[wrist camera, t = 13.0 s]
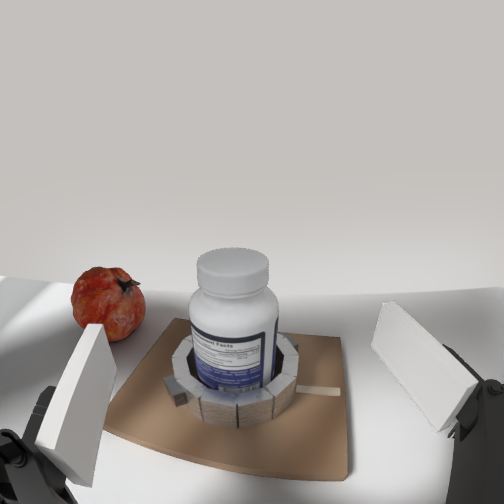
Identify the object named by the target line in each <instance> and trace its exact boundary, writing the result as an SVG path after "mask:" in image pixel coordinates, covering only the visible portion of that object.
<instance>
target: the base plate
mask: <svg viewBox="0 0 504 504" xmlns="http://www.w3.org/2000/svg"><path fill="white" fill-rule="evenodd" d="M277 333H279V334H281V333H280V332H277ZM285 334H286V335H288V336H289V337H290V338H292V339H293V340H294V341H296V342H297V343H298V344H299V346H298V355H299V360H298V370H297V378H296V384H295V390H294V396H293V400H292V402H291V403H290V404H289V405H288V406H287V407H286V408H285V409H284V410H283V411H282V412H281V413H280V414H279V415H278V416H277V417H276V418H275V419H274V420H272V419H271V421H270V422H266V423H263V424H259V425H255V426H251V427H247V428H243V429H239V427H237V429H232V428H227V427H222V426H217V425H212V424H208V423H205V422H204V421H203V422H202V421H201V420H200V419H198V418H197V417H196V416H195V415H194V414H193V413H191V412H190V411H189V410H188V409H187V408H186V407H184V406H183V405H182V406H179V407H176V406H175V404H174V403H173V401H172V399H171V397H170V396H169V394H168V392H167V390H166V387H165V383H164V380H163V378H164V377H167V376H170V375H174V369H173V363H172V356H173V354H174V353H175V351H176V350H177V348H178V346H179V345H180V343H181V342H182V340H183V339H185V338H186V337H188V336H190V335H191V327H190V320H184V319H178V318H174V319H173V321H172V322H171V323H170V325H169V326H168V327H167V328H166V330H165V331H164V332H163V334H162V335H161V336H160V337H159V339H158V340H157V341H156V343H155V344H154V345H153V347H152V348H151V349H150V350H149V352H148V353H147V354H146V356H145V357H144V358H143V360H142V361H141V362H140V364H139V365H138V366H137V367H136V369H135V370H134V371H133V373H132V374H131V375H130V377H129V378H128V379H127V381H126V382H125V383H124V385H123V386H122V387H121V389H120V390H119V391H118V393H117V394H116V395H115V397H114V398H113V399H112V401H111V402H110V403H109V405H108V408H107V412H106V417H105V421H104V425H103V430H105V431H108V432H110V433H112V434H114V435H116V436H119V437H121V438H123V439H126V440H128V441H131V442H133V443H136V444H138V445H141V446H144V447H146V448H149V449H152V450H155V451H158V452H161V453H164V454H167V455H170V456H173V457H176V458H180V459H183V460H186V461H190V462H194V463H198V464H201V465H205V466H210V467H214V468H218V469H223V470H228V471H233V472H238V473H244V474H250V475H257V476H264V477H272V478H281V479H292V480H308V481H344V479H345V478H346V476H347V475H348V449H347V418H346V399H345V385H344V372H343V361H342V350H341V341H340V337H329V336H315V335H302V334H291V333H285ZM277 376H278V373H277V372H276V370H275V368H274V379H275V378H276V377H277ZM193 377H194V378H195V379H196V380H198V376H197V370H196V372H195V374H194V376H193ZM274 379H273V380H274Z"/></svg>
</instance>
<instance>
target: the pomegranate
mask: <svg viewBox="0 0 504 504" xmlns="http://www.w3.org/2000/svg"><path fill="white" fill-rule="evenodd" d="M139 284H140V283H139V282H136V281H134V280H132V278H131V277H130V275H129V274H128V273H126V272H125V271H124V270H123V269H121V268H103V267H94V268H91V269H90V270H88V271H85V272H84V273H83V274H82V275H81V276H80V277H79V278H78V280H77V281H76V283H75V284H74V288H73V293H72V296H71V303H72V306H73V316H74V318H75V320H76V321H77V323H78V324H79V325H80V326H81V327H82V328H84V329H85V328H86V327H87V325H88V324H103V326H104V330H105V333H106V336H107V340H108V342H114V341H120V340H122V339H124V338H126V337H127V336H128V335H129V334H130V333H131V331H132V330H133V329H135V328H136V327H138V326H139V325H140V324H141V322H142V320H143V318H144V314H145V310H146V307H145V300H144V296H143V294H142V292H141V290H140V289H139V287H137V286H136V285H139Z"/></svg>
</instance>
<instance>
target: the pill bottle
mask: <svg viewBox="0 0 504 504" xmlns="http://www.w3.org/2000/svg"><path fill="white" fill-rule="evenodd" d="M268 269H269V262H268V258H267V257H266V256H265V255H264V254H262V253H260V252H258V251H255V250H251V249H245V248H222V249H216V250H212V251H209V252H207V253H205V254H203V255H201V256H200V257H199V258H198V261H197V279H198V285H199V287H200V288H199V289H198V290H197V291H195V293H194V294H193V295H192V297H191V299H190V302H189V319H190V327H191V335H192V342H193V349H194V356H195V363H196V369H197V376H198V381H199V382H200V383H202V384H203V385H204V386H206V387H207V388H208V389H213V390H218V391H223V392H229V393H235V394H238V393H243V392H247V391H251V390H256V389H260V388H264V387H265V386H267V385H268V384H269V383H270V382H271V381H272V380H273V379H274V368H275V354H276V341H277V329H278V315H279V307H278V300H277V298H276V296H275V294H274V293H273V292H272V291H271V290H270V289H269V288H268V287H267V284H268V279H269V275H268V273H269V272H268V271H269V270H268Z"/></svg>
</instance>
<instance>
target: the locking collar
mask: <svg viewBox="0 0 504 504" xmlns="http://www.w3.org/2000/svg"><path fill="white" fill-rule="evenodd" d="M298 346H299V344H298V343H297V342H296V341H294V340H293V339H292V338H290V337H289V336H288V335H286V334H285V333H281V334H279V333H277V341H276V354H275V370H276V372H277V373H278V376H277V377H276V378H275V379H274V380H272V381H271V382H270V383H269V384H268V385H267V386H265V387H264V388H260V389H256V390H251V391H247V392H243V393H238V394H235V393H229V392H223V391H218V390H213V389H208V388H207V387H206V386H204V385H203V384H202V383H200V382H199V381H198V380H196V379H195V378H194V377H193V376H194V374H195V372H196V370H197V369H196V363H195V356H194V349H193V342H192V335H190V336H188V337H186V338H185V339H183V340H182V342H181V343H180V345H179V346H178V348H177V350H176V351H175V353H174V354H173V356H172V363H173V369H174V375H170V376H167V377H164V378H163V380H164V383H165V387H166V390H167V392H168V394H169V396H170V397H171V399H172V401H173V403H174V404H175V406H176V407H179V406H182V405H183V406H184V407H186V408H187V409H188V410H189V411H190V412H191V413H193V414H194V415H195V416H196V417H197V418H198V419H200V420H201V421H202V422H203V421H204V422H205V423H208V424H212V425H217V426H222V427H227V428H232V429H237V427H239V429H243V428H247V427H251V426H255V425H259V424H263V423H266V422H270V421H271V419H272V420H274V419H275V418H276V417H277V416H278V415H279V414H280V413H281V412H282V411H283V410H284V409H285V408H286V407H287V406H288V405H289V404H290V403H291V402H292V400H293V396H294V390H295V384H296V378H297V370H298V360H299V355H298Z"/></svg>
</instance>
